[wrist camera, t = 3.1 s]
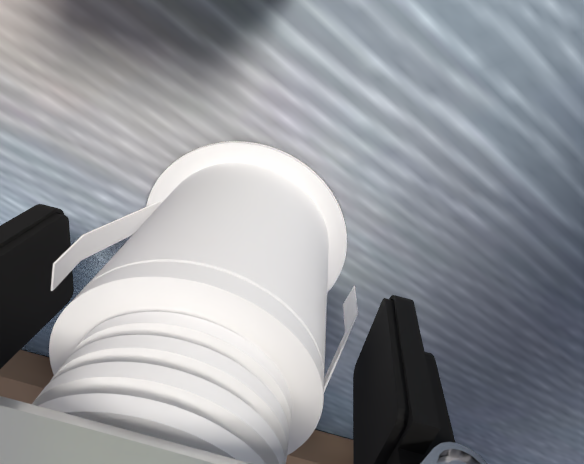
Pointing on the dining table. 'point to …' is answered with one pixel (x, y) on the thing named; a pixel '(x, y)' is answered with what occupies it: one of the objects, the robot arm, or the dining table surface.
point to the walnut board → (38, 373)
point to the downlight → (208, 308)
